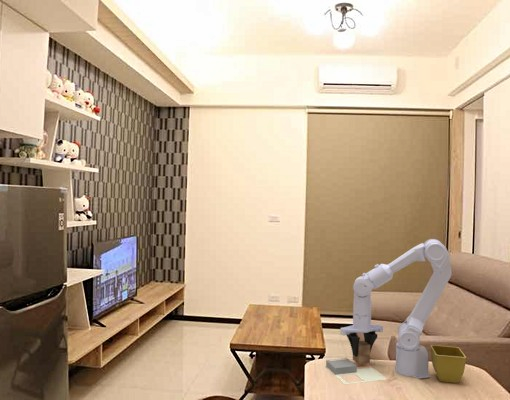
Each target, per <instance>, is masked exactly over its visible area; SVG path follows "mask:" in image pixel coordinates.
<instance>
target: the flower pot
mask: <svg viewBox="0 0 510 400" xmlns="http://www.w3.org/2000/svg"><path fill="white" fill-rule="evenodd" d="M429 347H430V359H431V363H432V367H433V370H434V372H435V373H436V376H437V378H438V380H439V381H440V382H445V383H446V382H447V383H453V384H457V383H459V382H460V381H461V379H462V378H463V375H464V372H465V367H466V362H467V356H466V355H465V354H464V352H463V351H462V350H461V348H460V347H458V346H450V345H449V346H448V345H437V344H436V345H435V344H430V345H429Z"/></svg>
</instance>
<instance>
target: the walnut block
mask: <svg viewBox="0 0 510 400" xmlns="http://www.w3.org/2000/svg"><path fill="white" fill-rule="evenodd" d="M352 360H353V362H357V363H358V364H366V363H367V364H370V362H371V352H370V344H368V343H367V342H365V341H364V340H359V345H358V356H357V357H355V356H354V355H353V354H352Z"/></svg>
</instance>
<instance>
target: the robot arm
mask: <svg viewBox="0 0 510 400" xmlns="http://www.w3.org/2000/svg"><path fill="white" fill-rule="evenodd" d="M426 259H427V260H428V262H429V263H430V266H431V268H432V272H433V273H432V274H431V276H430V278H429V280H428V282H427V284H426V286H425V287H424V289H423V291H422V293H421V295H420V296H419V298H418V300H417V302H416V303H415V305H414V308H413V309H412V310H411V313H410V314H409V315H408V316H407V317H406V319H405V320H404V322H402V323H400V324H399V325H398V327H397V335H398V336H397V342H396V343H395V345H396V346H395V372H396V373H397V374H400V375H402V376H406V377H415V378H417V379H427V378H431V376H430V374H429V352H428V350H427V349H426V347H425V346H424V345H421V344H420V342H421V340H420V339H421V334H422V332H423V330H424V327H425V324H426V322H427V320H428V318H429V316H430V315H431V313H432V311H433V309H434V308H435V305H436V303H437V302H438V301H439V299H440V297H441V295H442V293H443V292H444V290H445V288H446V286H447V285H448V283H449V280H450V279H451V277H452V272H453V271H452V267H451V266H452V265H451V255H450V253H449V251H448V249H447V247H446V246H445V245H444V244H443V243H442V242H441V241H440V240H438V239H436V238H430V239H427V240H426V241H425V242H424V243H423V242H421V243H419V244H418V245H415V246H414V247H412V248H410V249H409V250H407V251H406V252H405V253H403V254H402V255H400V256H399V257H397V258H396V259H394V260H393V261H391V262H390V263H388V264H385V263H380V264H379V263H376V264H375V265H374V268H373V269H371V270H369V271H367V272H363V273H362V275H361V276H359V277H358V276H357V278H356V279H355V280H354V283H353V285H352V289H353V299H352V300H353V304H352V305H353V306H352V308H353V309H352V314H353V316H352V325H349V326H344V327H340V334H341V335H342V336H346V337H347V339H348V342H349V344H350V348H351V352H352V356H353V355H354V356H355V357H357V356H358V345H359V341H361V340H360V339H361V337H359V336H358V334H363V341H365V342H367V343H368V344H370V353H371V352H372V349H373V345H374V344H375V342H376V340H377V339H378V334H377V333H383V331H384V326H383V325H381V324H372V298H371V296H372V295H371V293H372V290H377V289H378V288H379V287H381V286H383V285H385V284H386V283H388V282H389V281H391V280H392V279H393V277H394V273H396V272H398V271H400V270H402V269H403V268H406V267H407V266H410V265H411V264H413V263H415V262H426Z"/></svg>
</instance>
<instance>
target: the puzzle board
mask: <svg viewBox="0 0 510 400" xmlns="http://www.w3.org/2000/svg"><path fill="white" fill-rule="evenodd" d="M352 362H353V363H354V364H355V365H356V366H357V372H354V373H345V374H336V375H335V374H334V373H333V372H332V371H331V370H330V369H329V368H327V367H326V366H325V368H326V369H327V370H329V371H330V373H331V374H332V375H334V376H335V377H336V378H337V379H338V380H339V381H341V382H342V384H343V385H352V384H359V383H360V384H361V383H370V382H377V381H386V380H388V378H387V377H385V376H384V375H383V374H381V373H380V371H377V369H375V368H373V367H372V365H370V363H366V364H358V363H357V362H355V361H352ZM353 374H355V375H356V376H357V377H359V378H360V379H361V380H360V381H352V382H347V381H346V380H345V379H344V378H343V377H342V376H344V375H345V376H346V375H353Z"/></svg>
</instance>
